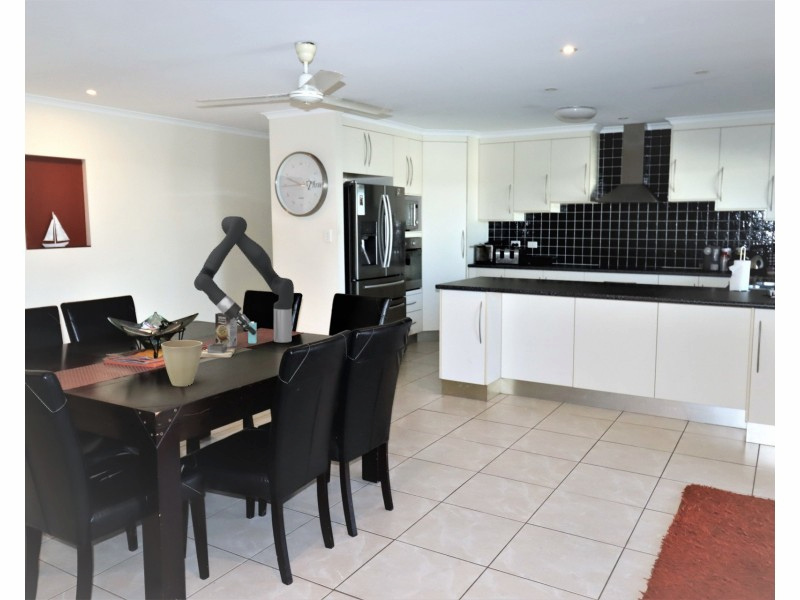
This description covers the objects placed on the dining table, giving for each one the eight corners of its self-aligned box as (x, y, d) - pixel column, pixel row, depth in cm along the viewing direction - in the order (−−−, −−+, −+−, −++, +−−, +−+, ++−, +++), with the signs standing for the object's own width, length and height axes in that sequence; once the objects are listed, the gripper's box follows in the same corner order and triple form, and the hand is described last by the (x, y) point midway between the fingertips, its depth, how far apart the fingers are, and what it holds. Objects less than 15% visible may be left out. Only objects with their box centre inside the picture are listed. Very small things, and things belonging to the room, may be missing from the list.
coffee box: (214, 345, 309) (214, 313, 307) (223, 343, 315) (222, 311, 313) (229, 347, 306) (229, 315, 304) (237, 345, 312) (237, 313, 310)
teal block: (249, 341, 294) (249, 321, 293) (256, 341, 294) (256, 321, 293) (248, 343, 290) (247, 322, 289) (255, 343, 290) (255, 322, 289)
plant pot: (197, 389, 231) (197, 347, 229) (156, 389, 230) (155, 347, 228) (207, 379, 246) (206, 339, 244) (168, 378, 245) (167, 339, 243)
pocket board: (205, 350, 297) (204, 342, 296) (234, 350, 299) (234, 342, 298) (199, 357, 283) (198, 348, 283) (230, 357, 285) (230, 348, 284)
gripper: (232, 303, 282) (259, 330, 285) (236, 299, 296) (263, 324, 299) (220, 315, 282) (248, 341, 285) (225, 310, 296) (251, 335, 299)
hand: (255, 332), depth 292 cm, fingers closed on teal block, 4 cm apart
